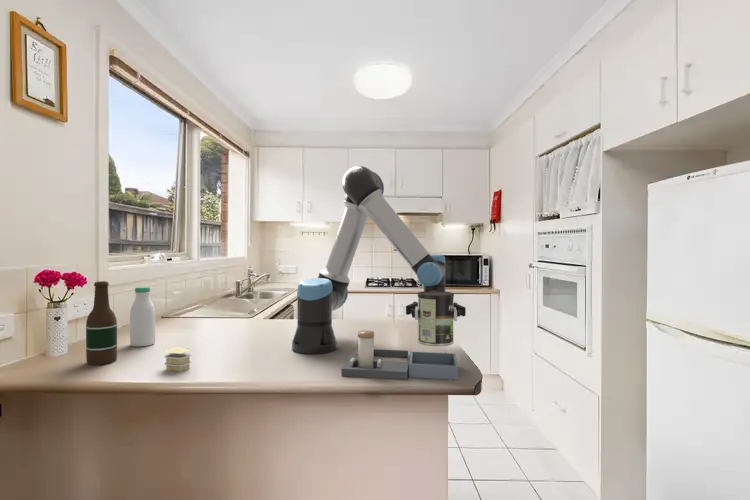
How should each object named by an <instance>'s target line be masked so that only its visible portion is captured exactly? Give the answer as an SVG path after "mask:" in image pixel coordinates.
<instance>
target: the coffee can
mask: <svg viewBox="0 0 750 500" xmlns="http://www.w3.org/2000/svg"><path fill="white" fill-rule="evenodd" d="M416 295H417V302H418V320H417V343H418V344H420V345H422V346H430V347H447V346H451V345H453V344H454V319H453V303H454V297H455V293H453V292H450V291H445V292H442V291H424V290H423V291H418V292H417V294H416Z"/></svg>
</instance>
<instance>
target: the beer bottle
mask: <svg viewBox="0 0 750 500" xmlns="http://www.w3.org/2000/svg"><path fill="white" fill-rule="evenodd" d="M109 285H110V284H109V282H108V281H104V280H103V281H95V282H94V283H93V286H94V287H95V288H94V297H93V308H92V310H91V311H90V312H89V313H88V316H87V318H86V321H85V322H86V323H85V330H86V331H85V336H86V337H85V344H86V346H85V350H86V351H85V353H86V354H85V357H86V364H88V366H103V365H109V364H112V363H114V362H115V361H117V359H118V321H117V317H116V314H115V312H114V311H113V310H112V309H111V307H110V299H109V298H110V297H109V296H110V295H109V287H108V286H109Z"/></svg>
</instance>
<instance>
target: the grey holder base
mask: <svg viewBox="0 0 750 500" xmlns="http://www.w3.org/2000/svg"><path fill="white" fill-rule="evenodd" d="M410 355H411V350H410V349H408V350H405V349H403V350H402V349H401V350H400V349H380V348H379V349H377V348H374V357H375V356H376V357H396V358H398V357H399V358H407V361H399V360H398V361H396V360H382V359H381V358H378V359H374V361H373V369H371V368H358V347H357V348H356V347H355V348H354V349H353V351H352V353H351V354H350V355H349V357H348V358H347V359H346V361H345V363H344V364H343V365H342V367H341V372H340V376H341V377H353V378H354V377H355V378H377V379H392V380H393V379H395V380H408V377H409V361H410Z"/></svg>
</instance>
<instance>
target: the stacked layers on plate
mask: <svg viewBox="0 0 750 500" xmlns="http://www.w3.org/2000/svg"><path fill="white" fill-rule="evenodd" d="M190 351H191V349H188V348H185V347H181V346H177V347H171V348H169V349H167V350H165V351H164V353H167V354H166V355H164V358H165V359H166V360H165V362H164V365H165V368H166V369H165V371H167V372H168V371H174V372H184V371H186V370H188V369H190V367H191V366H190V365H191V363H192V361H190V358H191V357H192V354H190V353H188V352H190Z"/></svg>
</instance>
